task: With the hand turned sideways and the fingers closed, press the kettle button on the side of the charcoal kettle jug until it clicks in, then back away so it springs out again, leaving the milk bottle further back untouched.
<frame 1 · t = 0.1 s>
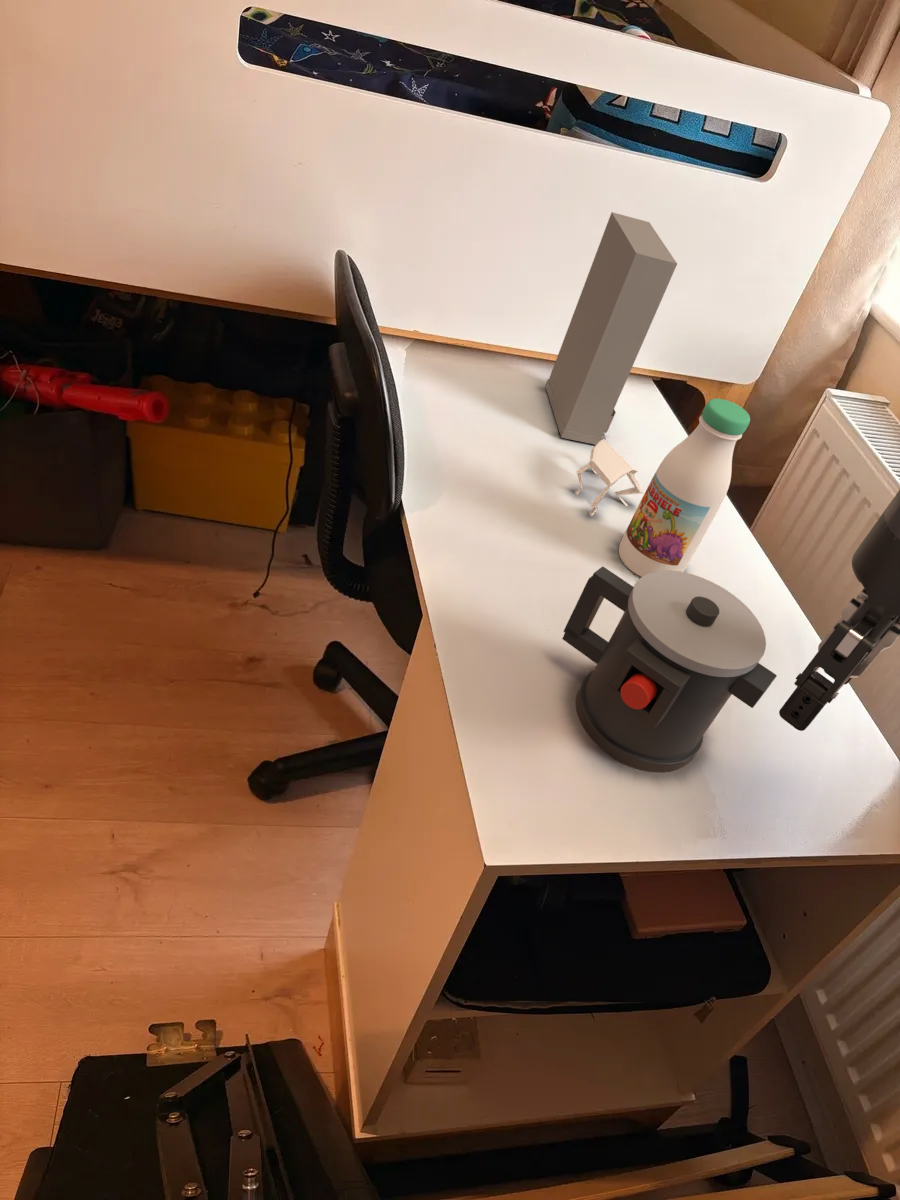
hand: (813, 698, 69), 13 cm above the table, tool pointing down, fingers open, 8 cm apart
kettle jug: (636, 719, 82), on the table
kettle button: (638, 691, 71), point 9 cm above the table, slide at -0.1 cm
milk bottle: (648, 563, 101), on the table
tall grey pillar: (572, 418, 123), on the table
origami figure: (596, 492, 110), on the table
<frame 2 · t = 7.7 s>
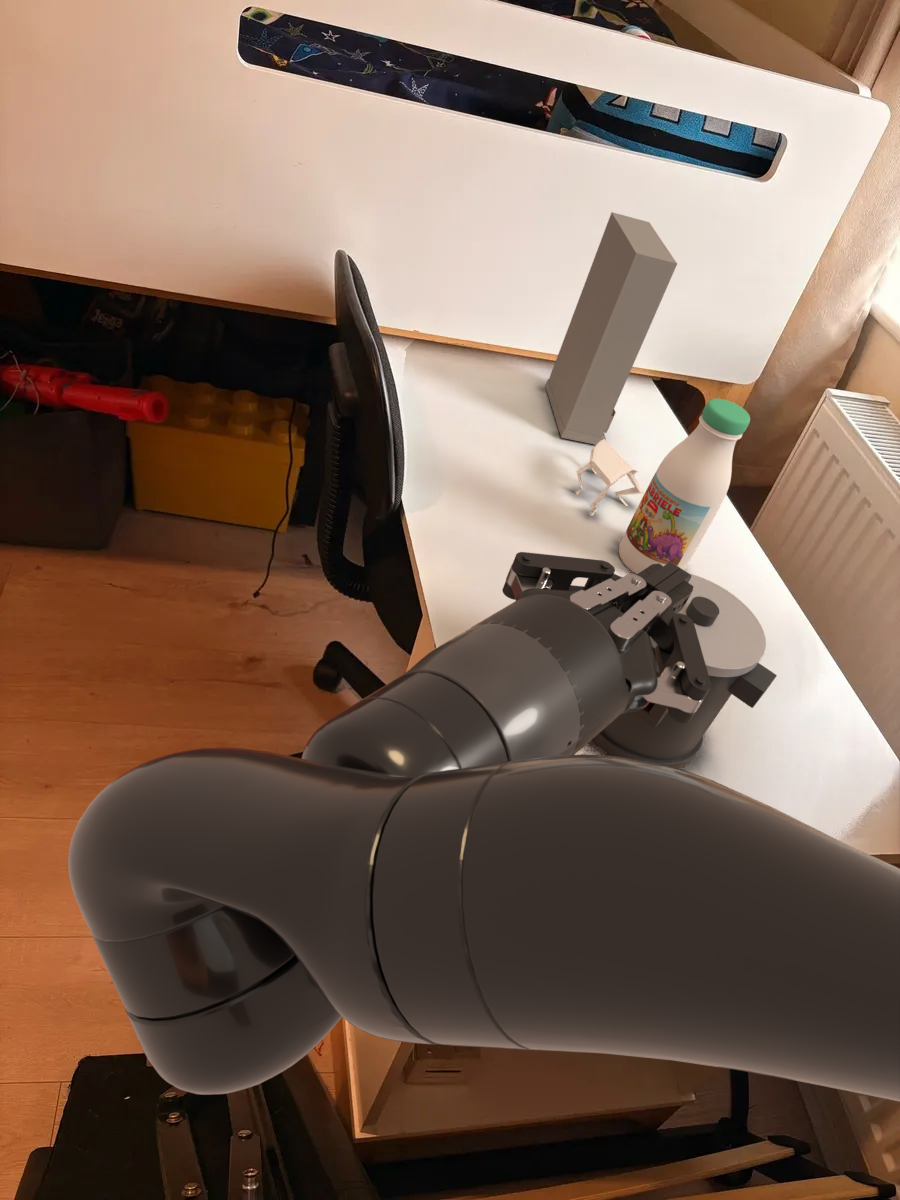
hand: (675, 580, 53), 26 cm above the table, tool horizontal, fingers closed
nothing on the table moved.
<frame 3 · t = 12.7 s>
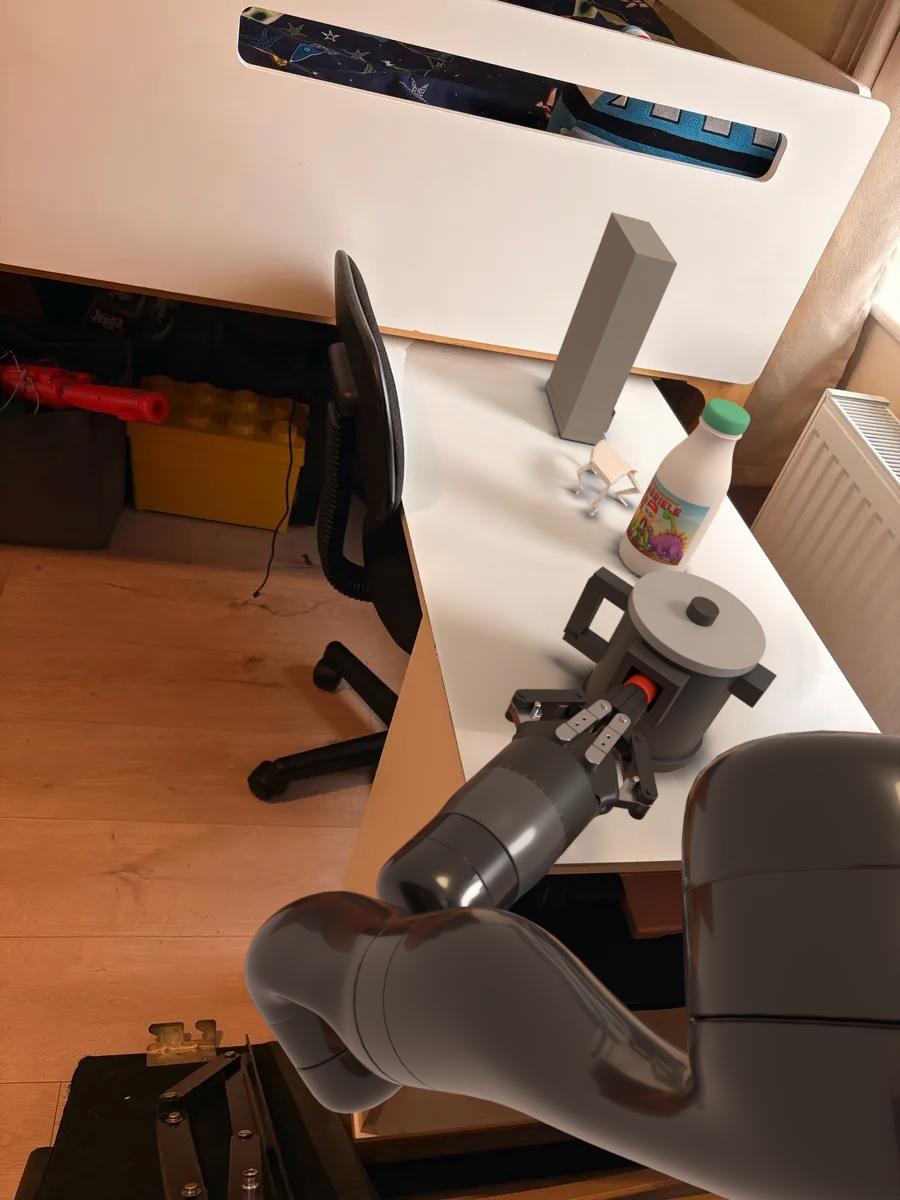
hand: (634, 695, 70), 9 cm above the table, tool horizontal, fingers closed
kettle button: (639, 691, 71), point 9 cm above the table, slide at 0.0 cm, touching gripper
everything else where it was.
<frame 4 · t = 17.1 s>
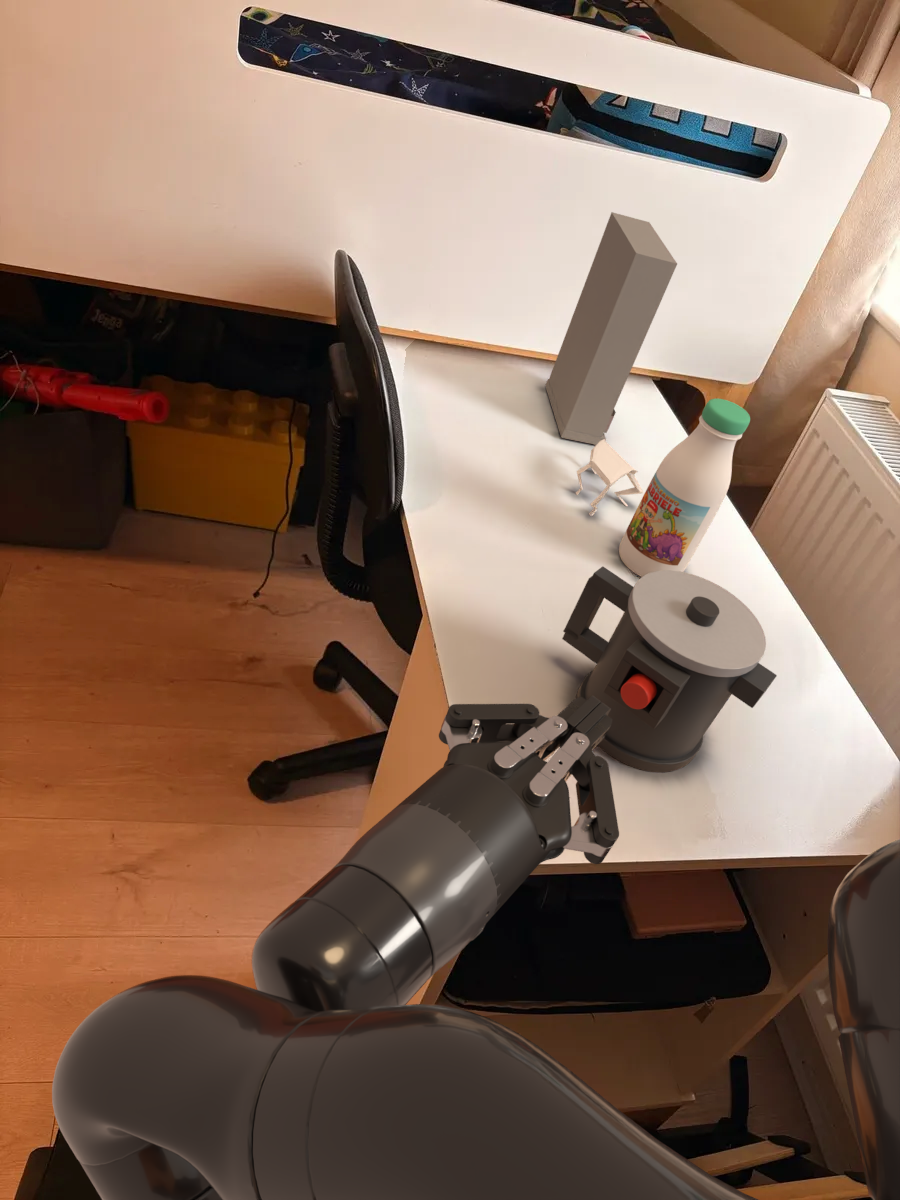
hand: (597, 710, 59), 15 cm above the table, tool horizontal, fingers closed
kettle button: (638, 691, 71), point 9 cm above the table, slide at -0.1 cm
everything else where it was.
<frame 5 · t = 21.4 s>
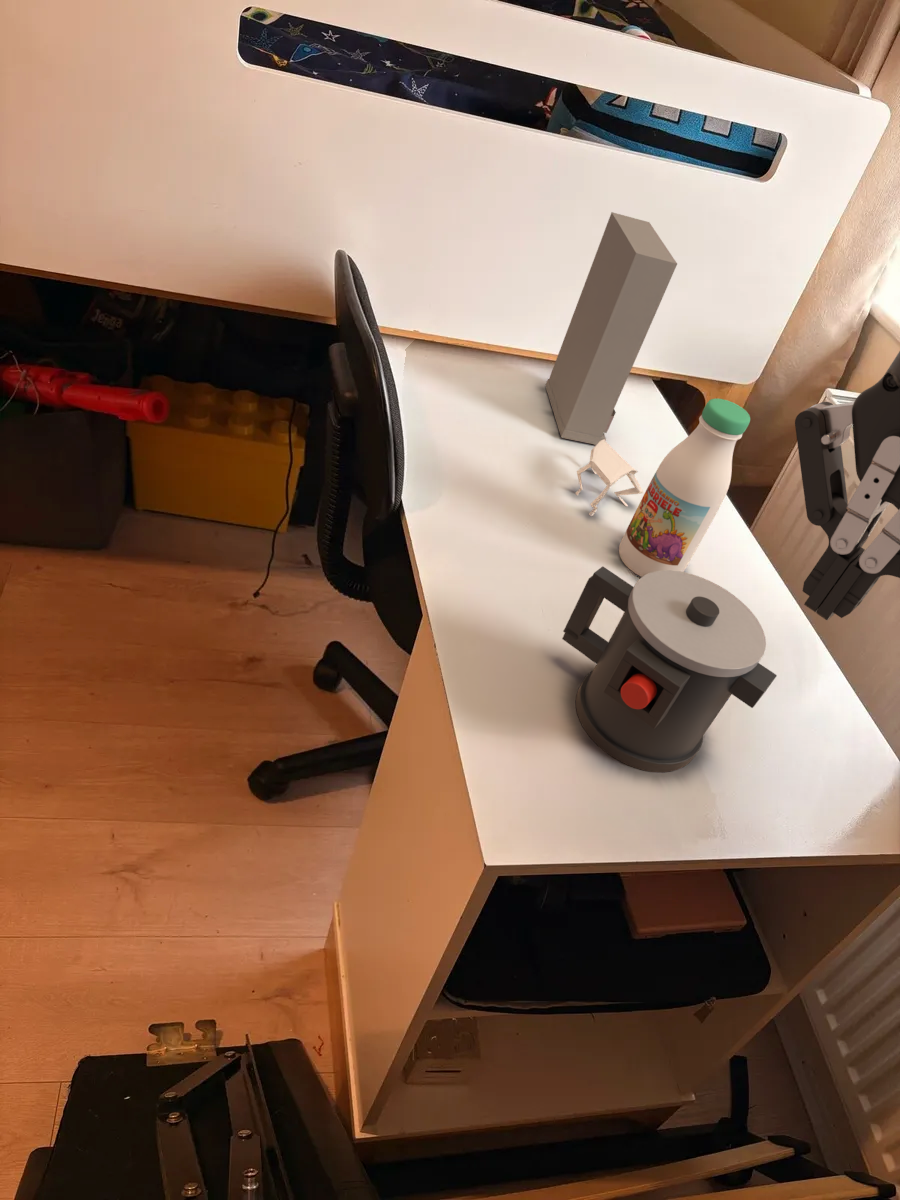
hand: (820, 607, 49), 29 cm above the table, tool pointing down, fingers closed
nothing on the table moved.
at the end: kettle button pulled out 1.0 cm at the most during the clip, back to where it started at the end; kettle button slide at -0.1 cm; milk bottle moved 0.2 cm from its start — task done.
